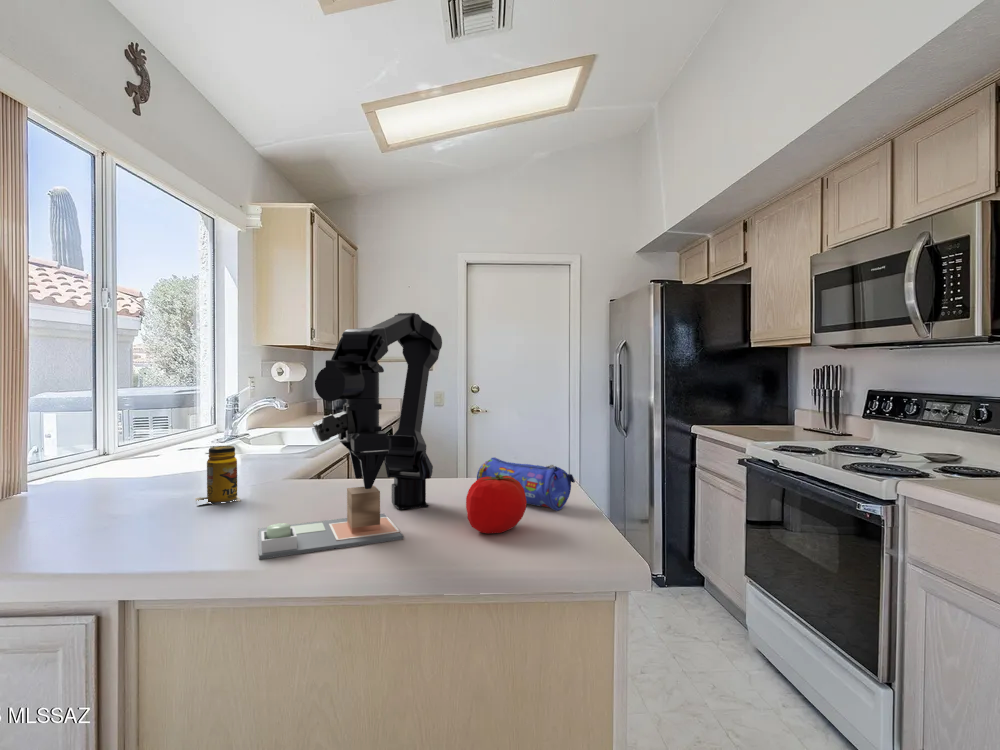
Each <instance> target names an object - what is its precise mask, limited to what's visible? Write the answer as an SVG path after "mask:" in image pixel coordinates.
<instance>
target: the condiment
mask: <svg viewBox="0 0 1000 750" xmlns="http://www.w3.org/2000/svg"><path fill="white" fill-rule="evenodd" d="M207 456H208V459H207V461H206V497H205V496H204V497H202V496H201V497H195V498H194V499H195V502H196V501H197V500H198V501H199V500H204V499H208V502H211V503H221V502H230V501H233V500H234V501H235V500H236V501H238V502H241V499H240V497H239V495H238V459H237V457H236V447H235V446H233V445H217V446H212V447H210V448H208V455H207ZM230 503H231V502H230Z"/></svg>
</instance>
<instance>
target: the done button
mask: <svg viewBox="0 0 1000 750" xmlns="http://www.w3.org/2000/svg"><path fill="white" fill-rule="evenodd" d="M290 525H291V524H290V523H283V522H281V523H273V524H270V525H268V526H266V527H267V539H274V538H282V537H290Z"/></svg>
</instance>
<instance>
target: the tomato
mask: <svg viewBox="0 0 1000 750" xmlns="http://www.w3.org/2000/svg"><path fill="white" fill-rule="evenodd" d="M484 476H485V475H484ZM499 476H500V475H496V477H491V476H487V477H482V478H479V479H478V480H477V479H476V480H475V482H473V483H472V484H471V485H470V487H469V488H468V492H467V494H466V498H465V509H466V513H467V516H466V517H467V520H468V523H469V525H470V526H471V528H473V529H474V530H476V531H477V532H479V533H484V534H487V535H488V534H501V533H503V532H507V531H509V530H511V529H513V528H515V526H517V524H519V522H520V521H521V520H522V519H523V516H524V515H525V512H526V509H527V504H526V503H527V501H526V496H525V492H524V488H523V487H522V485H521V484H520V482H519V481H517V480H516V479H514V478H512V477H510V476H500V477H499Z"/></svg>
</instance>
